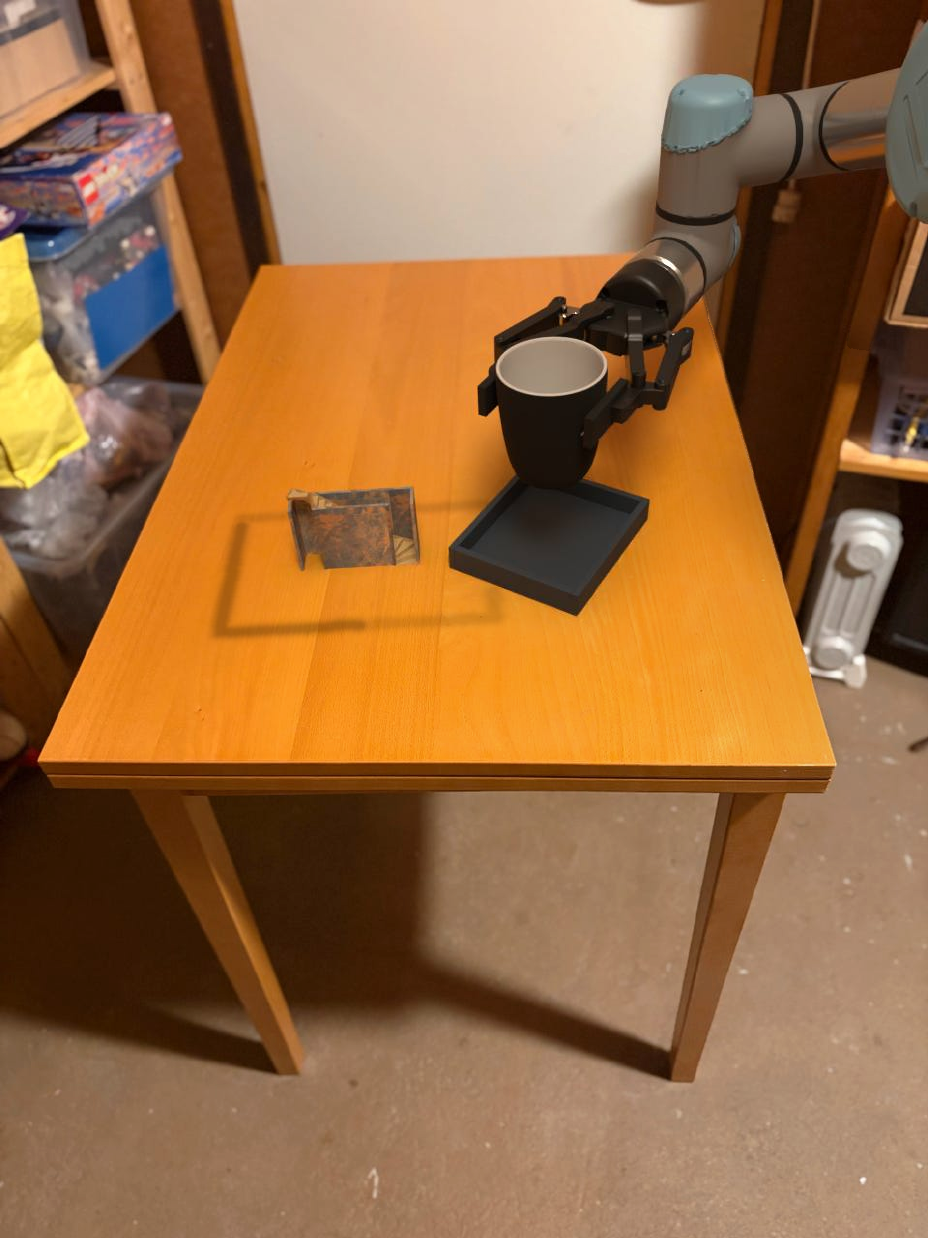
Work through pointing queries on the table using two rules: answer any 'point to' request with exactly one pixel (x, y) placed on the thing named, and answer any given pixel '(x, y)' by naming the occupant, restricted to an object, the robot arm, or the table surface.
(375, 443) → the table surface
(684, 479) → the table surface
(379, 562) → the architectural model on board
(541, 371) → the mug
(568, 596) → the tray
